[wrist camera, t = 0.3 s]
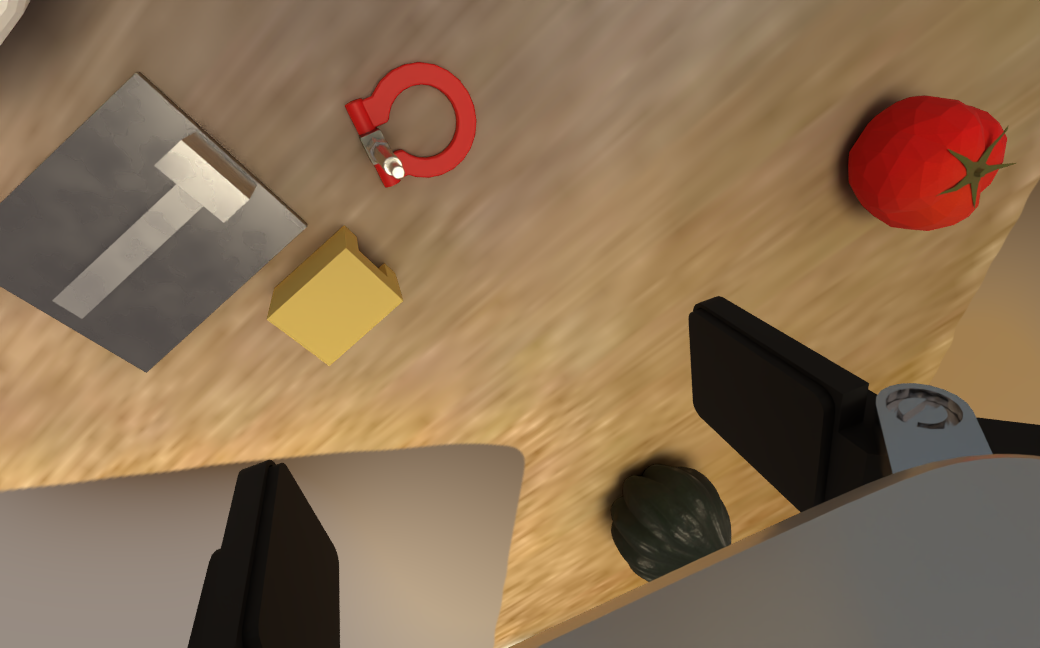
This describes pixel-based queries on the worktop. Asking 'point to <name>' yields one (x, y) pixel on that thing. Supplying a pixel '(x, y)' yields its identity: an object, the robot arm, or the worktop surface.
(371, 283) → the notched yellow block
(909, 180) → the tomato
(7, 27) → the bowl
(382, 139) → the tow hook
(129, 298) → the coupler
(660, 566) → the squash
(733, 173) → the worktop surface
